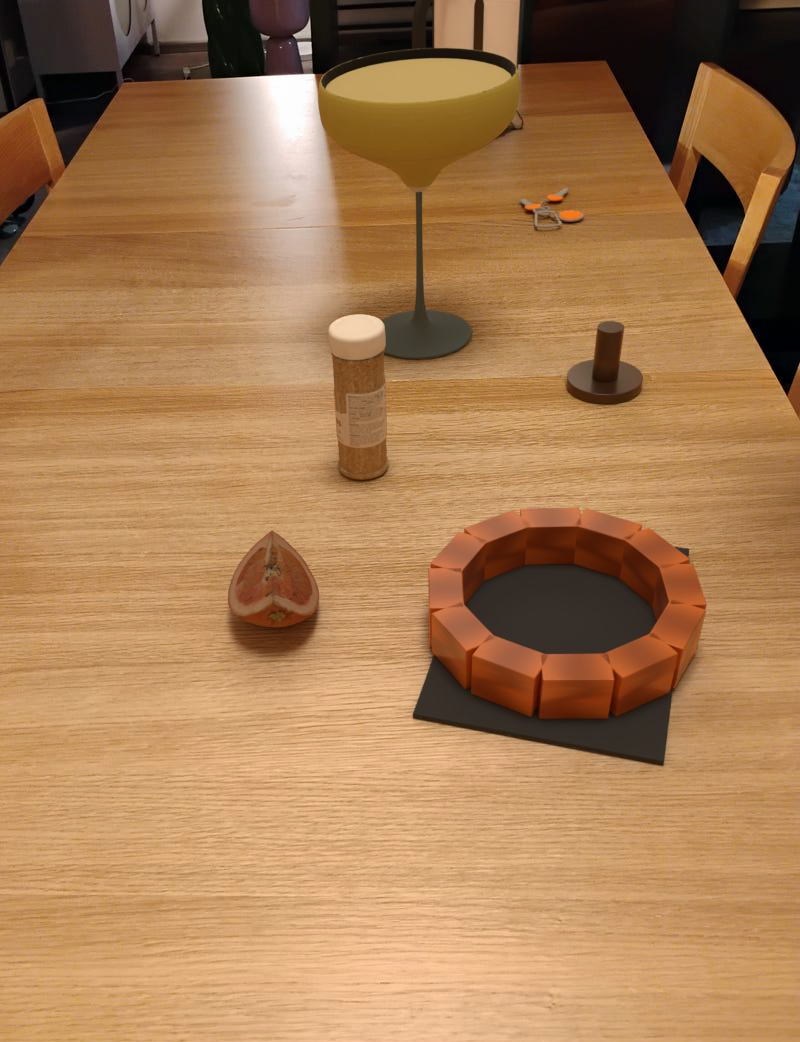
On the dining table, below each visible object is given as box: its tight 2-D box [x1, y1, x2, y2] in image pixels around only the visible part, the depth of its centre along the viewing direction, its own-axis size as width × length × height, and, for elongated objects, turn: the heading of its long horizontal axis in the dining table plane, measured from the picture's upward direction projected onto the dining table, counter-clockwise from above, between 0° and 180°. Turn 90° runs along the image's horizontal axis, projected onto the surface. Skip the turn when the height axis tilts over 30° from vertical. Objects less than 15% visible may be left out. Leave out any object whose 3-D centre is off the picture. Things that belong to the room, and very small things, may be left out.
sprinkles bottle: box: [327, 313, 390, 481], centre depth 86 cm, size 5×5×13 cm
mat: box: [412, 546, 690, 766], centre depth 73 cm, size 22×16×1 cm
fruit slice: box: [227, 530, 320, 628], centre depth 75 cm, size 8×7×5 cm
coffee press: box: [411, 0, 525, 130], centre depth 146 cm, size 17×16×30 cm
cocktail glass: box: [317, 47, 521, 360], centre depth 100 cm, size 18×18×25 cm
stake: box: [565, 320, 644, 405], centre depth 96 cm, size 7×7×6 cm
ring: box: [427, 506, 708, 719], centre depth 72 cm, size 18×18×4 cm
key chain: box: [518, 187, 585, 229], centre depth 130 cm, size 13×7×1 cm, turn 179°
